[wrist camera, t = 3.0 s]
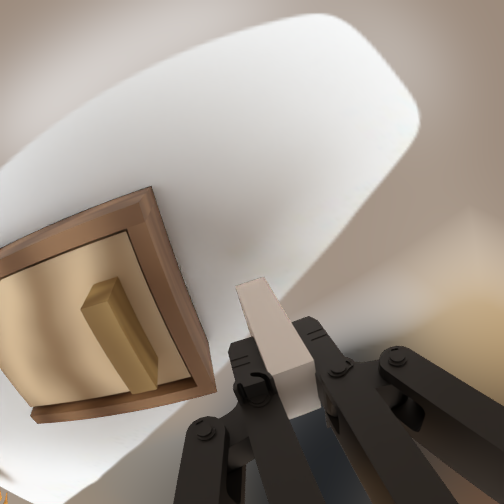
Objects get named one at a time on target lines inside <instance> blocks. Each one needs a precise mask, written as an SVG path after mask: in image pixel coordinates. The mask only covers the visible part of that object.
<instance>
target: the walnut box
mask: <svg viewBox="0 0 504 504" xmlns="http://www.w3.org/2000/svg"><path fill="white" fill-rule="evenodd" d="M126 228H127V231H128V233H129V236H130V239H131V241H132V244H133V247H134V249H135V252H136V254H137V257H138V259H139V262H140V264H141V267H142V269H143V272H144V274H145V277H146V279H147V282H148V284H149V286H150V289H151V291H152V293H153V296H154V298H155V300H156V302H157V305H158V307H159V309H160V311H161V314H162V316H163V318H164V320H165V322H166V324H167V327H168V329H169V331H170V333H171V335H172V337H173V339H174V341H175V343H176V345H177V347H178V349H179V351H180V353H181V355H182V357H183V359H184V361H185V363H186V365H187V367H188V369H189V371H190V373H191V377H187V378H184V379H180V380H176V381H172V382H168V383H164V384H160V385H157V389H156V390H151V391H147V392H142V393H138V394H133V395H132V393H131V392H130V391H128V392H123V393H118V394H113V395H108V396H103V397H97V398H91V399H85V400H79V401H73V402H66V403H59V404H51V405H43V406H34V407H33V410H32V412H31V415H30V416H31V417H32V419H33V420H34V421H35V422H36V423H37V424H41V423H54V422H65V421H74V420H82V419H90V418H97V417H104V416H110V415H117V414H122V413H128V412H134V411H139V410H144V409H149V408H154V407H159V406H163V405H168V404H172V403H176V402H181V401H185V400H189V399H193V398H197V397H201V396H204V395H208V394H212V393H215V392H217V389H216V384H215V378H214V373H213V367H212V362H211V356H210V350H209V344H208V340H207V338H206V335H205V333H204V331H203V328H202V326H201V323H200V321H199V318H198V316H197V313H196V311H195V308H194V306H193V303H192V301H191V298H190V296H189V293H188V290H187V288H186V285H185V283H184V280H183V277H182V275H181V272H180V269H179V266H178V264H177V261H176V258H175V255H174V253H173V250H172V247H171V244H170V241H169V238H168V236H167V233H166V230H165V227H164V224H163V221H162V218H161V215H160V212H159V209H158V206H157V203H156V200H155V196H154V193H153V190H152V187H151V186H150V187H147V188H144V189H141V190H138V191H135V192H133V193H130V194H127V195H124V196H121V197H119V198H116V199H113V200H111V201H108V202H105V203H103V204H100V205H97V206H95V207H92V208H90V209H87V210H85V211H82V212H80V213H77V214H75V215H73V216H70V217H68V218H65V219H63V220H61V221H58V222H56V223H54V224H51V225H49V226H47V227H45V228H42V229H40V230H38V231H36V232H33V233H31V234H29V235H27V236H25V237H23V238H21V239H19V240H16V241H14V242H12V243H10V244H8V245H6V246H4V247H2V248H0V278H1V277H3V276H6V275H8V274H10V273H13V272H15V271H17V270H20V269H22V268H24V267H27V266H29V265H32V264H34V263H36V262H39V261H41V260H44V259H46V258H49V257H51V256H54V255H56V254H59V253H61V252H64V251H66V250H69V249H72V248H74V247H77V246H79V245H82V244H85V243H87V242H90V241H93V240H95V239H98V238H101V237H104V236H106V235H109V234H112V233H115V232H118V231H120V230H123V229H126Z"/></svg>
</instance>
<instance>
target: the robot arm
mask: <svg viewBox="0 0 504 504" xmlns="http://www.w3.org/2000/svg"><path fill="white" fill-rule="evenodd" d="M235 287H236V290H237V293H238V297H239V300H240V303H241V306H242V310H243V313H244V316H245V319H246V322H247V325H248V329H249V331H250V334H251V337H249V338H246V339H243V340H240V341H237V342H233V343H231V345H230V348H229V351H228V354H229V358H230V361H231V365H232V370H233V374H234V378H235V383H234V385H233V390H234V393H235V395H236V397H237V400H238V403H237V405H236V407H235V408H234V409H233V410H232V411H231V412H229V413H228V414H227V415H225V416H223V417H221V418H219V419H218V418H216V417H210V416H207V417H203V418H199V419H198V420H196V421H194V422H193V423H192V424H191V425H190V426H189V428H188V430H187V432H186V437H185V443H184V448H183V453H182V458H181V464H180V470H179V475H178V480H177V486H176V492H175V498H174V503H173V504H245V481H246V464H247V463H248V462H250V461H252V460H253V459H255V460H256V463H257V466H258V470H259V473H260V476H261V479H262V483H263V486H264V489H265V492H266V495H267V499H268V502H269V504H326V503H325V501H324V499H323V497H322V494H321V492H320V490H319V487H318V485H317V483H316V481H315V479H314V476H313V474H312V472H311V469H310V467H309V465H308V463H307V460H306V458H305V456H304V453H303V451H302V449H301V447H300V444H299V442H298V439H297V437H296V435H295V432H294V430H293V428H292V425H291V423H290V421H289V419H292V418H295V417H297V416H300V415H303V414H305V413H308V412H311V411H313V410H316V409H318V408H321V403H322V405H323V407H324V409H325V416H326V424H327V427H328V428H329V427H330V426H331V428H332V429H333V432H334V433H335V435H336V437H337V439H338V441H339V443H340V445H341V446H342V448H343V450H344V452H345V454H346V456H347V457H348V460H349V461H350V463H351V465H352V467H353V469H354V471H355V473H356V474H357V476H358V478H359V480H360V482H361V483H362V485H363V487H364V489H365V491H366V493H367V494H368V496H369V498H370V500H371V502H372V504H458V503H457V501H456V499H455V498H454V497H453V495H452V494H451V492H450V491H449V490H448V488H447V487H446V485H445V484H444V482H443V481H442V480H441V478H440V477H439V476H438V474H437V473H436V471H435V470H434V469H433V467H432V466H431V464H430V463H429V462H428V460H427V459H426V457H425V456H424V455H423V453H422V452H421V450H420V449H419V448H418V447H417V445H416V444H415V442H414V441H413V440H412V438H413V439H414V440H415V441H417V442H418V443H419V444H421V445H422V446H423V447H424V448H426V449H427V450H428V451H429V452H431V453H432V454H433V455H435V456H436V457H437V458H439V459H440V460H441V461H442V462H444V463H445V464H446V465H448V466H449V467H450V468H452V469H453V470H455V471H456V472H457V473H459V474H460V475H461V476H462V477H464V478H465V479H466V480H468V481H469V482H470V483H472V484H473V485H475V486H476V487H477V488H479V489H480V490H481V491H483V492H484V493H486V494H487V495H488V496H490V497H491V498H493V499H494V500H495V501H497V502H498V503H500V504H504V406H502V405H501V404H499V403H497V402H496V401H494V400H492V399H491V398H489V397H487V396H486V395H484V394H482V393H481V392H479V391H478V390H476V389H474V388H473V387H471V386H469V385H468V384H466V383H465V382H462V381H461V380H459V379H458V378H456V377H455V376H453V375H451V374H450V373H448V372H447V371H445V370H443V369H442V368H440V367H438V366H437V365H435V364H433V363H432V362H430V361H429V360H427V359H425V358H424V357H422V356H420V355H419V354H417V353H415V352H414V351H412V350H411V349H409V348H406V347H404V346H394V347H390V348H388V349H386V350H384V351H383V352H382V354H381V355H380V359H379V360H374V361H369V362H354V361H353V360H352V359H350V358H347V357H345V356H344V355H343V354H342V353H341V352H340V350H339V349H338V348H337V346H336V345H335V343H334V342H333V341H332V339H331V338H330V336H329V335H328V334H327V332H326V331H325V330H324V329H323V327H322V326H321V324H320V323H319V322H318V320H316V319H314V318H312V317H310V316H308V317H305V318H302V319H300V320H297V321H294V322H291V321H290V320H289V318H288V316H287V315H286V313H285V311H284V310H283V308H282V306H281V305H280V303H279V301H278V300H277V298H276V296H275V295H274V293H273V291H272V289H271V288H270V286H269V284H268V283H267V281H266V279H265V278H264V277H262V278H259V279H256V280H253V281H250V282H246V283H243V284H240V285H237V286H235ZM320 401H321V403H320ZM411 437H412V438H411Z"/></svg>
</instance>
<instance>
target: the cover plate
mask: <svg viewBox="0 0 504 504" xmlns="http://www.w3.org/2000/svg"><path fill="white" fill-rule="evenodd" d="M0 368H1V370H2V371H3V373H4V374H5V375H6V377H7V378H8V379H9V381H10V382H11V383H12V385H13V386H14V387H15V389H16V390H17V391H18V392H19V394H20V395H21V396H22V397H23V398H24V400H25V401H26V402H27V403H28V404H29V406H30V407H34V406H43V405H51V404H59V403H66V402H73V401H79V400H85V399H91V398H97V397H103V396H108V395H113V394H118V393H123V392H128V391H130V392H131V393H132V395H133V394H138V393H142V392H147V391H151V390H156V389H157V385H160V384H164V383H168V382H172V381H176V380H180V379H184V378H187V377H191V373H190V371H189V369H188V367H187V365H186V363H185V361H184V359H183V357H182V355H181V353H180V351H179V349H178V347H177V345H176V343H175V341H174V339H173V337H172V335H171V333H170V331H169V329H168V327H167V324H166V322H165V320H164V318H163V316H162V314H161V311H160V309H159V307H158V305H157V302H156V300H155V298H154V296H153V293H152V291H151V289H150V286H149V284H148V282H147V279H146V277H145V274H144V272H143V269H142V267H141V264H140V262H139V259H138V257H137V254H136V252H135V249H134V247H133V244H132V241H131V239H130V236H129V233H128V231H127V228H126V229H123V230H120V231H118V232H115V233H112V234H109V235H106V236H104V237H101V238H98V239H95V240H93V241H90V242H87V243H85V244H82V245H79V246H77V247H74V248H72V249H69V250H66V251H64V252H61V253H59V254H56V255H54V256H51V257H49V258H46V259H44V260H41V261H39V262H36V263H34V264H32V265H29V266H27V267H24V268H22V269H20V270H17V271H15V272H13V273H10V274H8V275H6V276H3V277H1V278H0Z"/></svg>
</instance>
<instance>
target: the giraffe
mask: <svg viewBox="0 0 504 504" xmlns="http://www.w3.org/2000/svg"><path fill="white" fill-rule="evenodd" d="M1 499H2V496H1V491H0V500H1ZM7 503H8V502H7V493H6V498H5V502H4V504H7Z"/></svg>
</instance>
